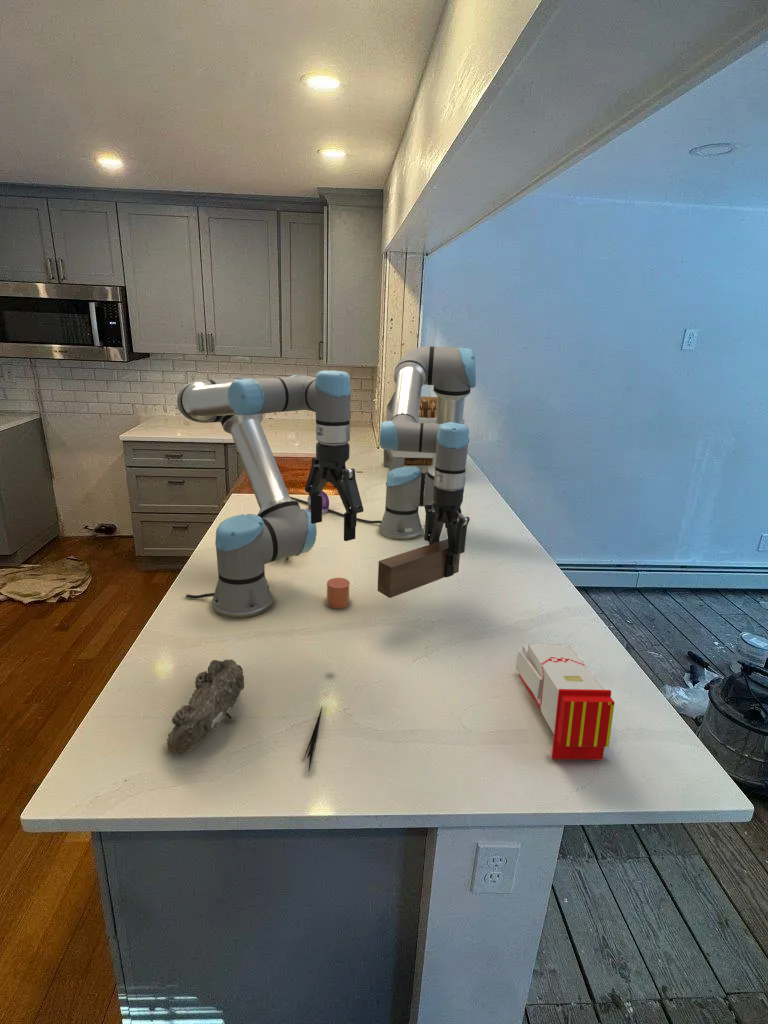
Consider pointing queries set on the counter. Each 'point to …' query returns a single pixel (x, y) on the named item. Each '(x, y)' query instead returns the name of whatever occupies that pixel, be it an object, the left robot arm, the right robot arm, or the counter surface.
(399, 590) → the beam
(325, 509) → the figurine
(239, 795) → the counter surface
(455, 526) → the right robot arm
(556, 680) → the toy
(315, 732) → the feather
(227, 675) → the fossil
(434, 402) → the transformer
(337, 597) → the orange clay cylinder
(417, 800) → the counter surface
